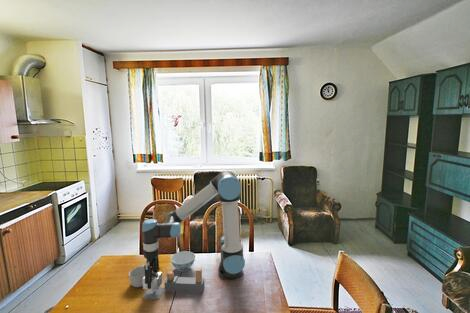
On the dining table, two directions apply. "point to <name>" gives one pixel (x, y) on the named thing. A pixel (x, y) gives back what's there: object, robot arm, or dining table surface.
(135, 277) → the teacup
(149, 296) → the mat
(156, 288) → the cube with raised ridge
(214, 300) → the dining table surface
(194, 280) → the plane
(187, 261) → the chinaware
